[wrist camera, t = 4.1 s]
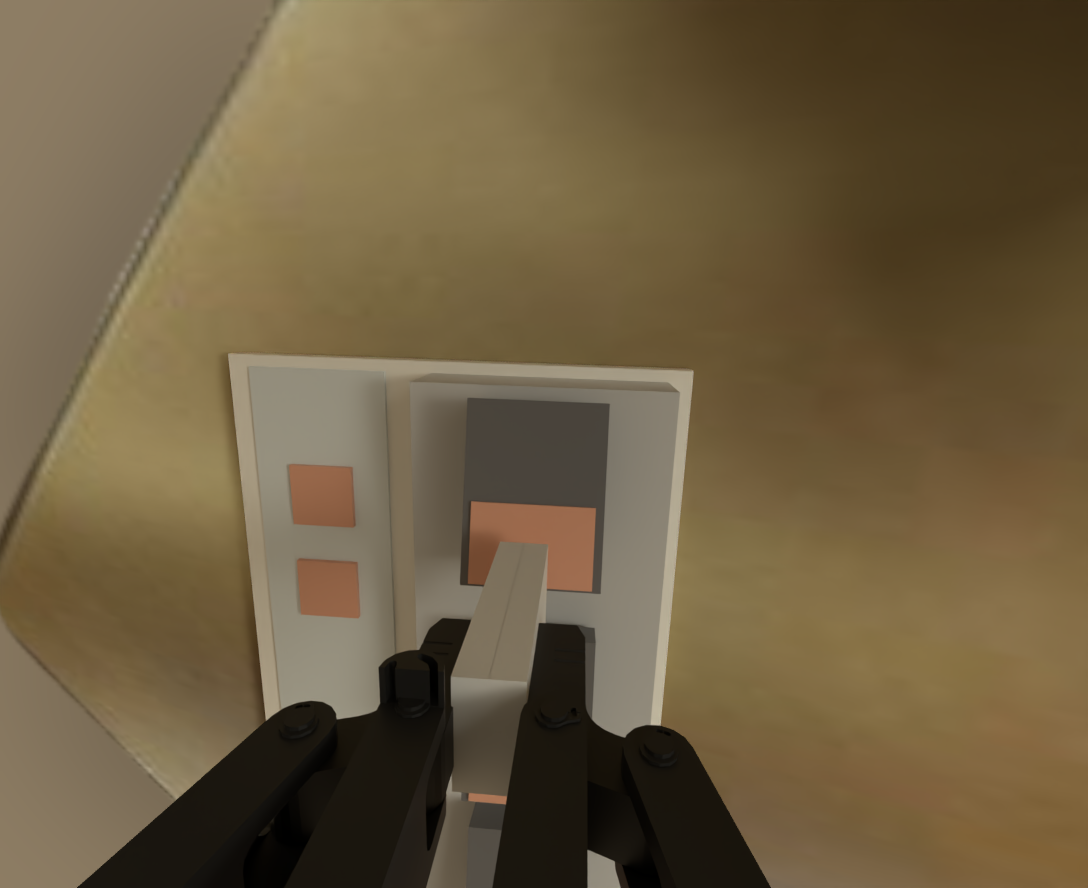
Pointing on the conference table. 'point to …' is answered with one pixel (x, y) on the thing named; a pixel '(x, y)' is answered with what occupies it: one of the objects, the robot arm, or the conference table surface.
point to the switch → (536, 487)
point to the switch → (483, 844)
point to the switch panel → (439, 528)
